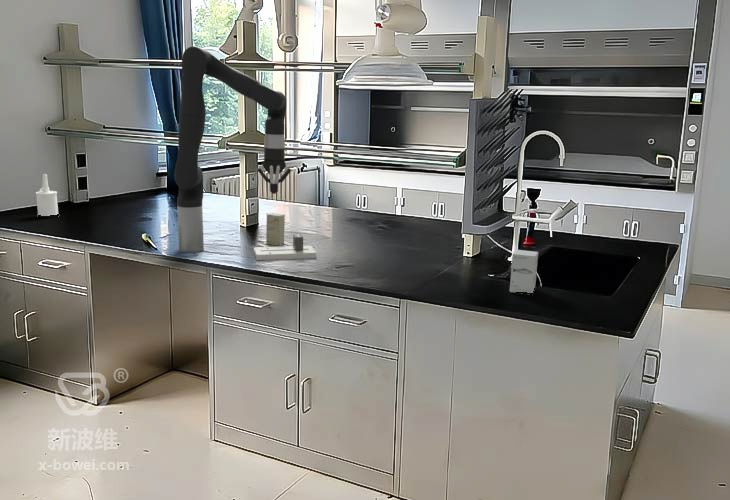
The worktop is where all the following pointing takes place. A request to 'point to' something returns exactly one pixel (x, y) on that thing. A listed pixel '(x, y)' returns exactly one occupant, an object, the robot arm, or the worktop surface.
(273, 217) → the skincare box
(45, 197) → the white nozzle bottle
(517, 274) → the supplement box
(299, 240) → the fader cap
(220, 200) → the worktop surface
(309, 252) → the fader console
